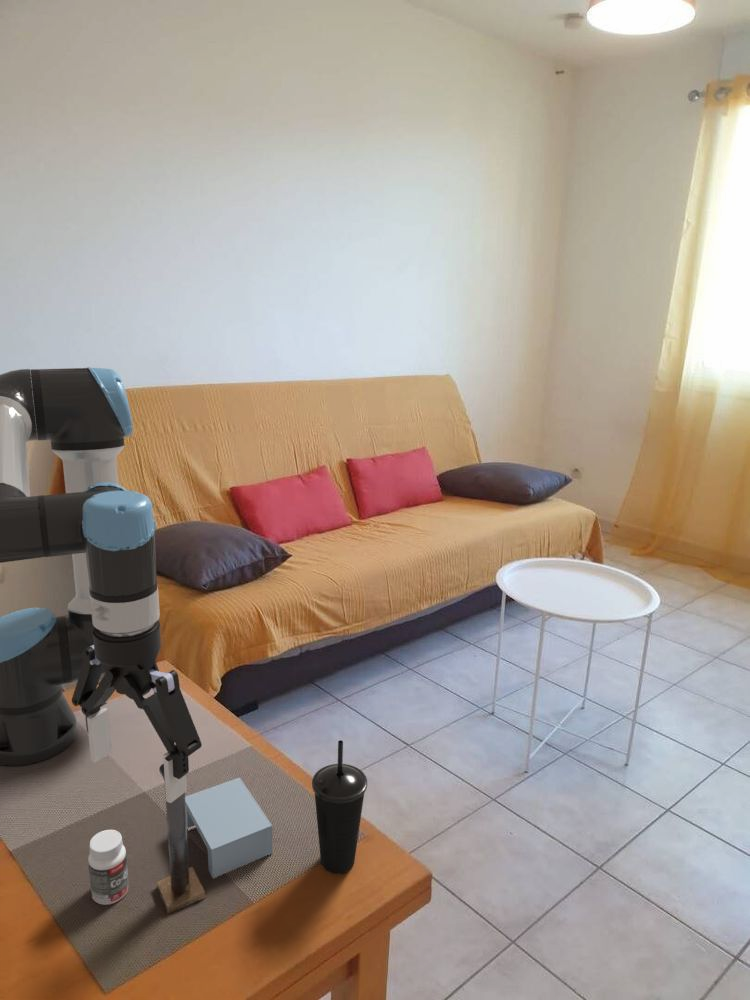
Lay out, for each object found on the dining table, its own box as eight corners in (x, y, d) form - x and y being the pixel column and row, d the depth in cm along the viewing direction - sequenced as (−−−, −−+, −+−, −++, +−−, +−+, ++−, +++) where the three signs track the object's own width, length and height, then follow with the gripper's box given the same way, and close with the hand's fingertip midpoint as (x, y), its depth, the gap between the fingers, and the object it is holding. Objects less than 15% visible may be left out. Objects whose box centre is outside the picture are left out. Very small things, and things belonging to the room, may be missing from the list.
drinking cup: (363, 883, 99) (368, 760, 93) (308, 881, 99) (309, 758, 94) (365, 842, 107) (369, 726, 101) (313, 840, 107) (315, 724, 101)
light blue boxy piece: (184, 824, 109) (183, 797, 107) (240, 804, 113) (239, 777, 112) (212, 879, 99) (211, 849, 98) (272, 853, 104) (272, 825, 102)
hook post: (153, 879, 99) (145, 769, 93) (189, 865, 101) (183, 756, 96) (168, 913, 94) (160, 798, 88) (205, 897, 96) (200, 785, 91)
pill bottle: (117, 909, 94) (112, 857, 92) (84, 902, 95) (79, 850, 92) (135, 881, 98) (131, 830, 96) (104, 874, 99) (99, 824, 97)
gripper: (31, 607, 87) (48, 756, 93) (179, 667, 75) (188, 833, 81) (83, 587, 93) (96, 727, 100) (228, 639, 81) (233, 795, 88)
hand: (137, 775), depth 90 cm, fingers open, 13 cm apart
